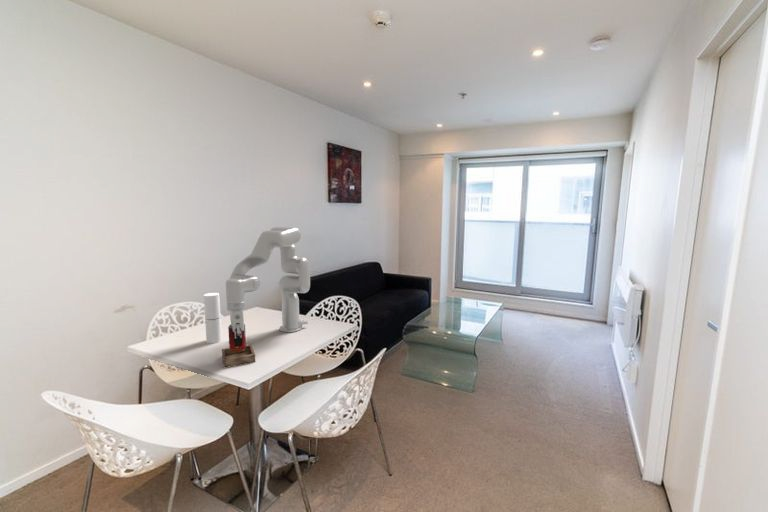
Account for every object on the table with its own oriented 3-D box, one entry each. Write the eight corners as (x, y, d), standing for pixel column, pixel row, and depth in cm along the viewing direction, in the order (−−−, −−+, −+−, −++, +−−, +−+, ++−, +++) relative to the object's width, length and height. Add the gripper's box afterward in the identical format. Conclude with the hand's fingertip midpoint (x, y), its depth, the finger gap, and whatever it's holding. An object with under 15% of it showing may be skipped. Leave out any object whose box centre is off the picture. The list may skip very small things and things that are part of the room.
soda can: (244, 345, 162) (243, 320, 160) (247, 350, 156) (246, 325, 154) (228, 348, 158) (226, 323, 156) (231, 354, 152) (229, 327, 150)
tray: (251, 351, 166) (251, 344, 166) (255, 361, 155) (255, 354, 154) (222, 356, 160) (221, 349, 160) (223, 367, 149) (223, 360, 148)
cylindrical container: (215, 343, 174) (212, 296, 171) (203, 342, 176) (200, 295, 172) (224, 338, 181) (222, 293, 178) (212, 337, 183) (210, 292, 179)
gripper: (247, 309, 148) (248, 348, 151) (242, 300, 163) (244, 335, 166) (228, 311, 145) (230, 351, 147) (225, 301, 160) (227, 338, 162)
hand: (237, 342), depth 156 cm, fingers closed on soda can, 7 cm apart
